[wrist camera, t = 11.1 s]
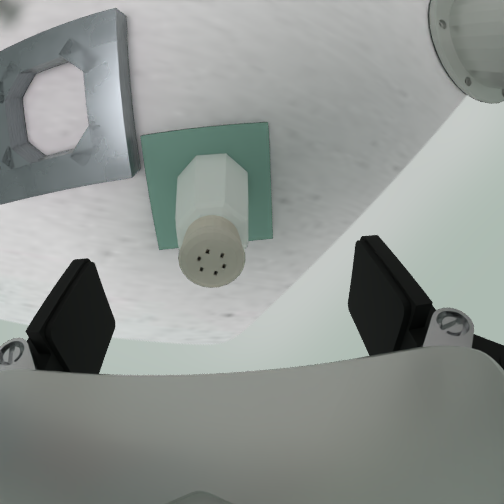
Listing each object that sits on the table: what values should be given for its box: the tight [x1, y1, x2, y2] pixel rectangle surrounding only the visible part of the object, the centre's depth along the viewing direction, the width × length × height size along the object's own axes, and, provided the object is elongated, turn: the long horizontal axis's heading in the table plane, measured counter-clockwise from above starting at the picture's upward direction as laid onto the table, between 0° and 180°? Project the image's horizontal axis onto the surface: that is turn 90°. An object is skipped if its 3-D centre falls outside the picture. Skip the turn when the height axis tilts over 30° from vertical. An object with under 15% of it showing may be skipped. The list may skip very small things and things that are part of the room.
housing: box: [0, 8, 140, 205], centre depth 18 cm, size 12×12×3 cm
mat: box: [140, 122, 273, 250], centre depth 23 cm, size 9×9×1 cm
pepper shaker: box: [175, 153, 248, 288], centre depth 18 cm, size 5×5×11 cm
